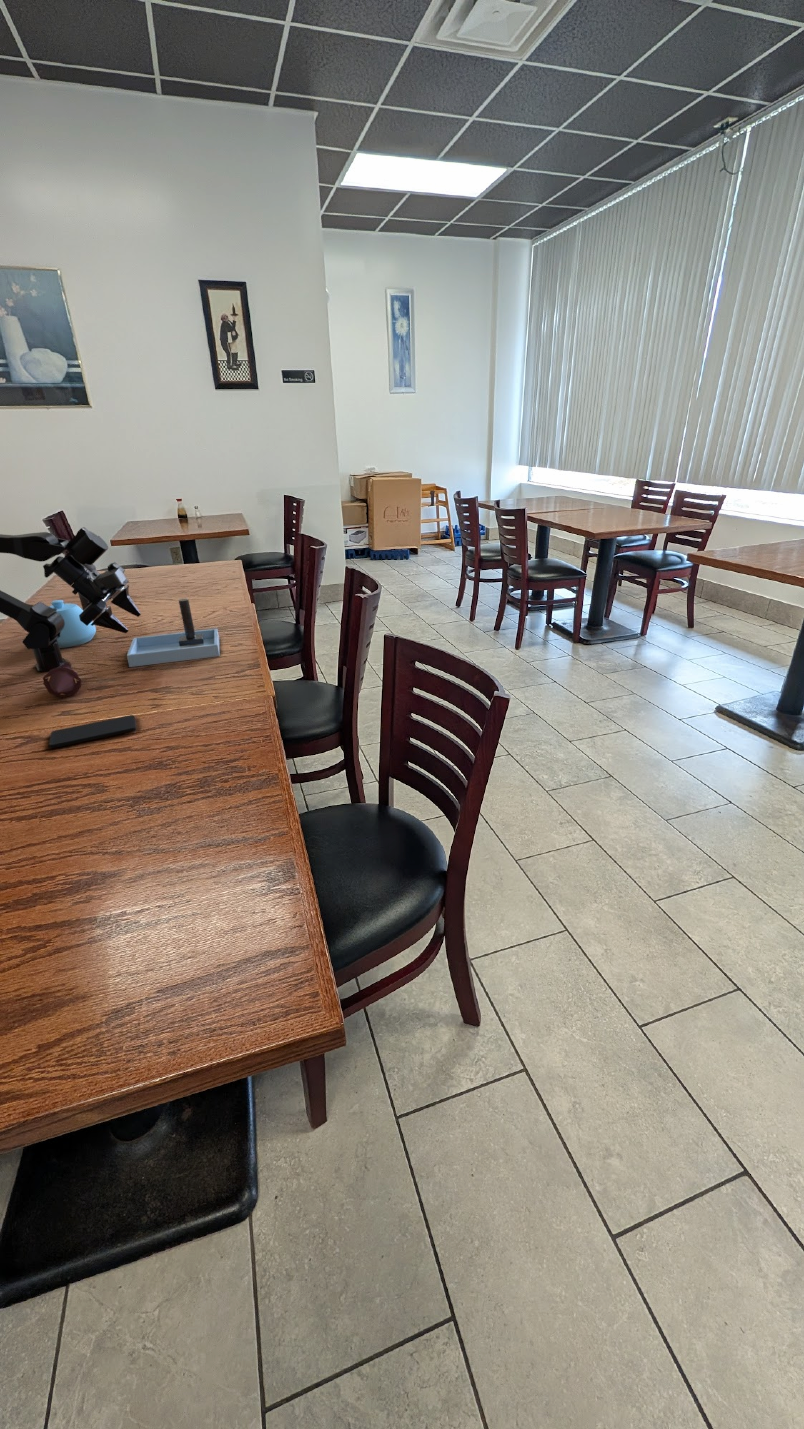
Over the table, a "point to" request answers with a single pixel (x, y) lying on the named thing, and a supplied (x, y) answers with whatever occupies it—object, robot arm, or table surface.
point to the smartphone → (92, 731)
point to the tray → (171, 648)
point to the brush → (189, 627)
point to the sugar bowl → (72, 625)
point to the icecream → (62, 681)
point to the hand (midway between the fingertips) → (133, 623)
